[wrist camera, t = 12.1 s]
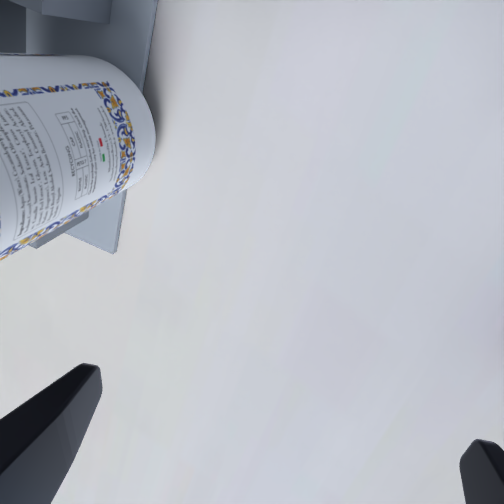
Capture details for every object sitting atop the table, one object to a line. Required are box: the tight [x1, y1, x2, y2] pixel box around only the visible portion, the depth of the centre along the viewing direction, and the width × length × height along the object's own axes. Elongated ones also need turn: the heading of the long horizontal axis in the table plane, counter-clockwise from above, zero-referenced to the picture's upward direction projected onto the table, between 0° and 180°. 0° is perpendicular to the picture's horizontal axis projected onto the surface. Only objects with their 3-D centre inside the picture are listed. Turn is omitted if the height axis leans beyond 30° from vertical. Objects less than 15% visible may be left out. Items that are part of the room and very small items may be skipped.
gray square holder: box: [0, 0, 158, 254], centre depth 18 cm, size 11×16×5 cm
